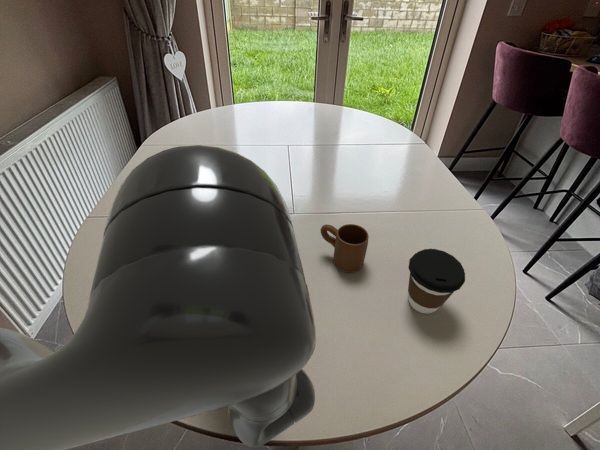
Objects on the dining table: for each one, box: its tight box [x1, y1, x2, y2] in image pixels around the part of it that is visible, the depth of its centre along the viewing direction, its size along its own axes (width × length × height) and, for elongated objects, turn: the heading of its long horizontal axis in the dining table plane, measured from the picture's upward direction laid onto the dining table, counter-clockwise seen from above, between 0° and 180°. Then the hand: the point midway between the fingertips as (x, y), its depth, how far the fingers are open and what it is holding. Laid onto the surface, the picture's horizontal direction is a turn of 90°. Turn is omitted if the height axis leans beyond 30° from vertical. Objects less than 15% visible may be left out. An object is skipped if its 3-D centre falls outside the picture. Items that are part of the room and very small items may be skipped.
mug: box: [320, 223, 370, 273], centre depth 81 cm, size 12×8×9 cm, turn 59°
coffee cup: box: [407, 248, 466, 315], centre depth 70 cm, size 11×11×12 cm
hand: (193, 237), depth 63 cm, fingers closed
